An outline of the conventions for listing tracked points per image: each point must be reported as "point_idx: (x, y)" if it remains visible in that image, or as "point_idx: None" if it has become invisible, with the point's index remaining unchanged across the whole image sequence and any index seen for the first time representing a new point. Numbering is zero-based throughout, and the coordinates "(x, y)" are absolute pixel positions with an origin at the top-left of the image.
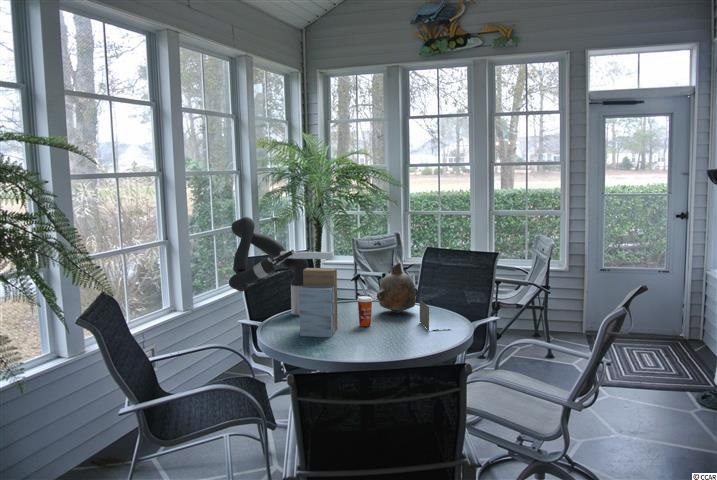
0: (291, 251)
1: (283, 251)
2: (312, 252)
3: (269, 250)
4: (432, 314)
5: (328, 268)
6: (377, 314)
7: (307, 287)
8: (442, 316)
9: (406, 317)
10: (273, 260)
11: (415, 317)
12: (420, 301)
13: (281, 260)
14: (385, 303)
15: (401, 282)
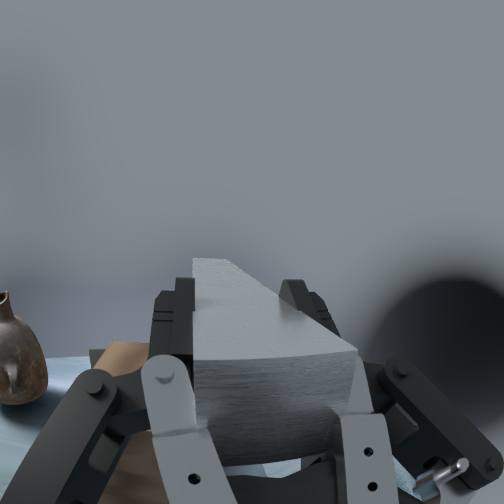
0: (282, 287)
1: (231, 344)
2: (225, 268)
3: None
4: (47, 371)
5: (105, 355)
6: (15, 425)
7: (225, 474)
8: (63, 366)
9: (54, 397)
10: (484, 448)
11: (58, 388)
12: (95, 351)
13: (396, 414)
14: (29, 393)
15: (32, 333)
